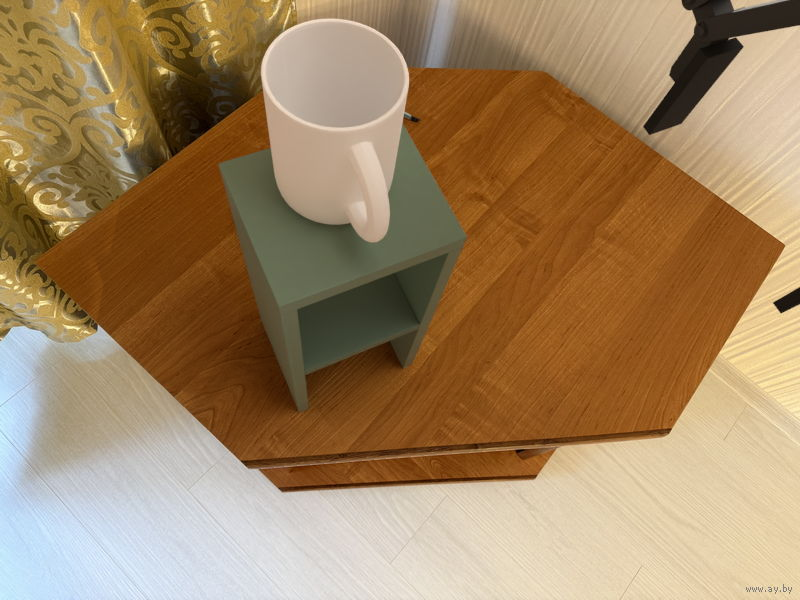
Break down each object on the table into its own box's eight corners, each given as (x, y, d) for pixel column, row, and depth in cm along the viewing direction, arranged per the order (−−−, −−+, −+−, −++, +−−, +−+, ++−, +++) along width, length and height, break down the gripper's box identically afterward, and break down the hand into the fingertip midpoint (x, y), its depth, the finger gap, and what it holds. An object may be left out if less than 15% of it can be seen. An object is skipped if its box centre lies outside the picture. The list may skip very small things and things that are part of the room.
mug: (429, 254, 41) (459, 164, 32) (314, 290, 39) (311, 205, 30) (367, 121, 45) (378, 6, 36) (260, 148, 43) (242, 33, 34)
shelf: (412, 364, 69) (467, 237, 42) (298, 412, 66) (278, 307, 38) (370, 278, 73) (395, 110, 46) (260, 319, 69) (217, 163, 42)
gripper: (798, -376, 21) (570, 76, 40) (1545, 189, 13) (810, 413, 32) (940, -386, 23) (658, 50, 42) (1663, 98, 15) (904, 360, 34)
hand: (723, 207), depth 37 cm, fingers open, 13 cm apart
